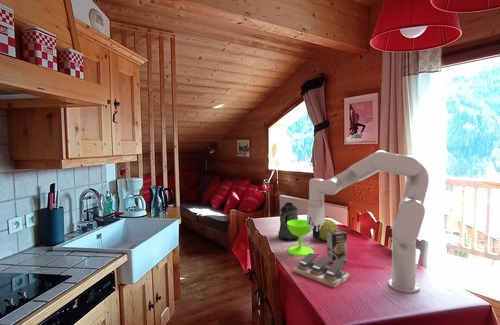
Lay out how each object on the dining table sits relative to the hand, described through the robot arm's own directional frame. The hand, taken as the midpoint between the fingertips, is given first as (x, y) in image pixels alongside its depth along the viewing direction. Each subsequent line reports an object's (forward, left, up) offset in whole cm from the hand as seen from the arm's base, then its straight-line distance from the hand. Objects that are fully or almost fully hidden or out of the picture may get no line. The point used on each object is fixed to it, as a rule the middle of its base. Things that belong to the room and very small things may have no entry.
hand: (316, 238), depth 151 cm
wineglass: (-17, -24, -18) cm, 35 cm away
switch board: (+1, +3, -18) cm, 18 cm away
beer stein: (-32, -45, -18) cm, 58 cm away
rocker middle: (+1, +3, -12) cm, 13 cm away
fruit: (-48, -26, -18) cm, 58 cm away
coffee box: (-21, -1, -18) cm, 28 cm away
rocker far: (+1, -5, -12) cm, 13 cm away
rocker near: (+1, +11, -12) cm, 17 cm away
